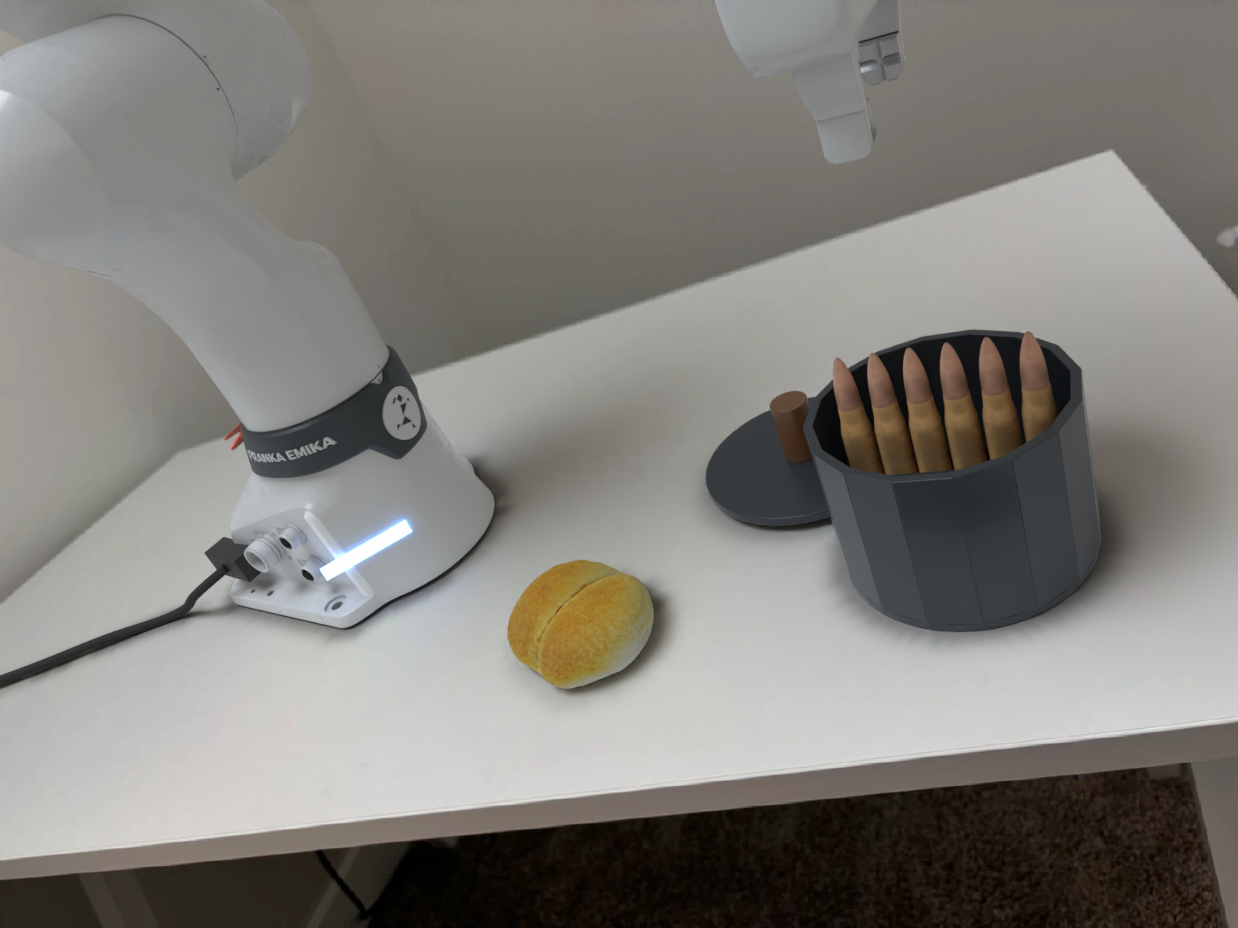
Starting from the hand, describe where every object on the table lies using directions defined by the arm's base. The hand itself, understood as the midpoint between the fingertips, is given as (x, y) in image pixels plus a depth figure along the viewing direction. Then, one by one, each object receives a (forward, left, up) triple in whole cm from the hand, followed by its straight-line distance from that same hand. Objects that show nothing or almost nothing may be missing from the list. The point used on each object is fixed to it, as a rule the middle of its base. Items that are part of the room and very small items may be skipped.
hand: (870, 113), depth 40 cm
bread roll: (-21, -7, -24) cm, 33 cm away
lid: (-10, +8, -23) cm, 27 cm away
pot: (0, 0, -24) cm, 24 cm away
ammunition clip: (0, 0, -24) cm, 24 cm away
